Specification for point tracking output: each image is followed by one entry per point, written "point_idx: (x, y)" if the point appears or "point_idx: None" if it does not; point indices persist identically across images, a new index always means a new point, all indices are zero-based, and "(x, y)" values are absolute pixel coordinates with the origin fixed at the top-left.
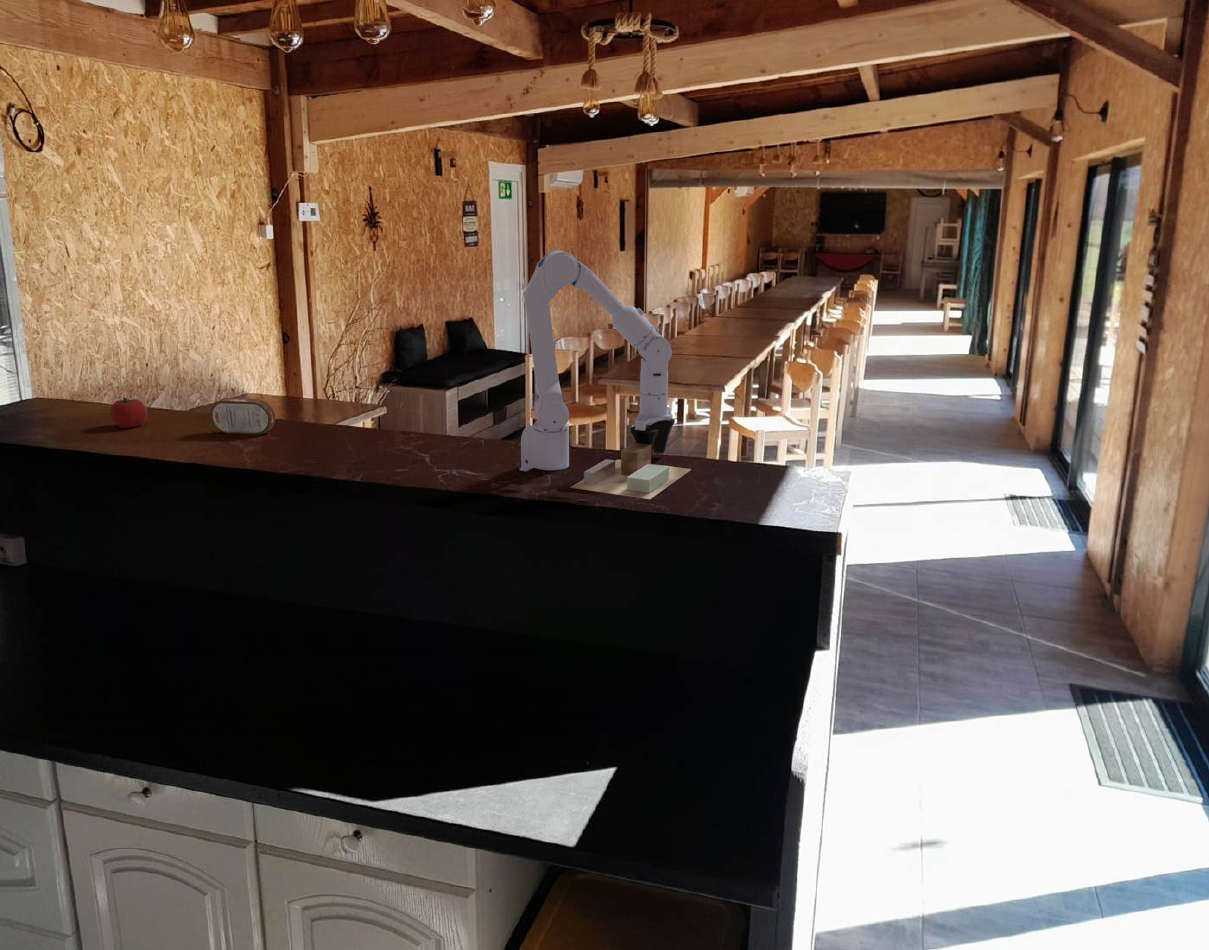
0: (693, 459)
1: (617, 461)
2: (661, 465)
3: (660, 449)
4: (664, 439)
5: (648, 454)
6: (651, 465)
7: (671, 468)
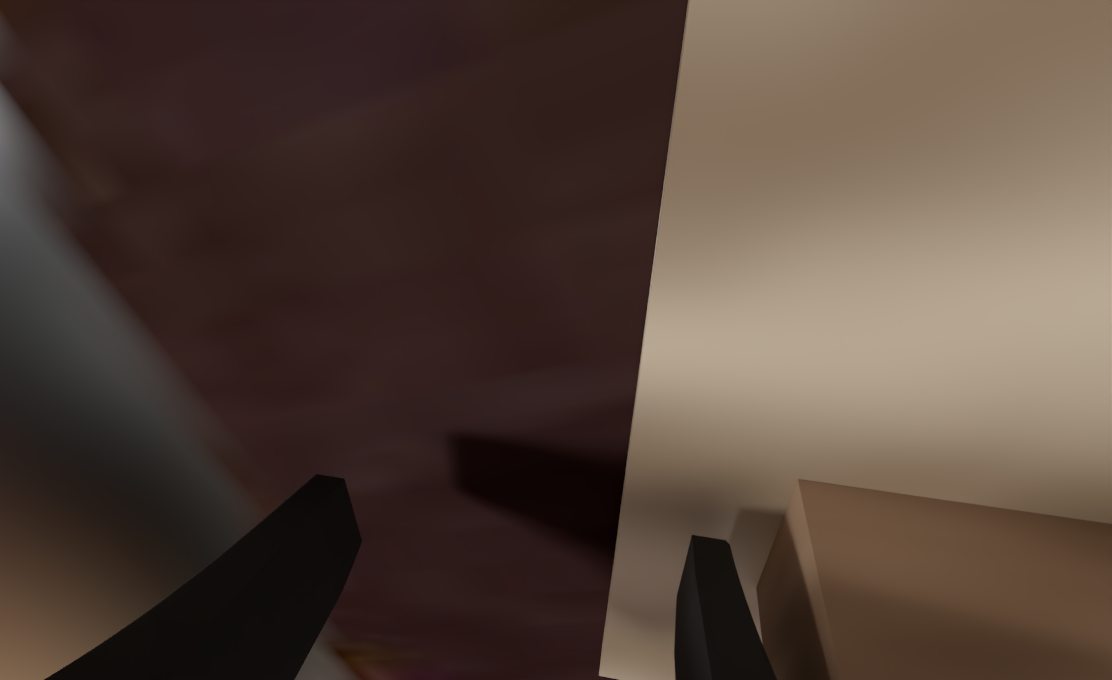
0: (84, 172)
1: (652, 676)
2: (641, 409)
3: (329, 528)
4: (236, 615)
5: (938, 676)
6: None
7: (737, 286)
